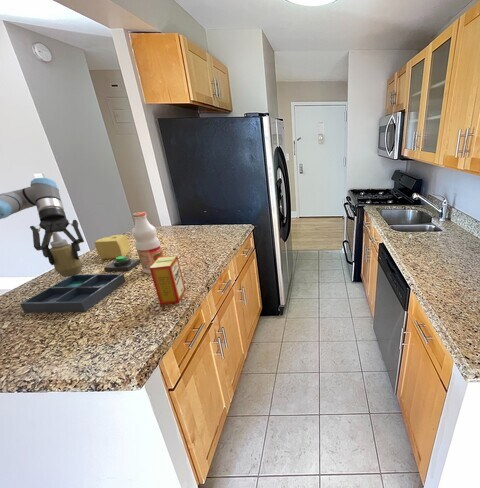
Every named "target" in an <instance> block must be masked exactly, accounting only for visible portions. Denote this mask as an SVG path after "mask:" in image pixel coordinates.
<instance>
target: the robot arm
mask: <svg viewBox="0 0 480 488" xmlns="http://www.w3.org/2000/svg"><path fill="white" fill-rule="evenodd" d="M34 207H36V210H37V214H38V218H39V223H38V225H35V226H34V225H30V226H29V229H30V230H31V231H32V243H33V248H34V249H35V250H36V251H38V252H39V251H42V256H43V257H44V258H45V259H46V258H47V259H48V262H49V264H50V266H54V261H53V259H52V256H51V253H50V250H49V249H50V247H49V246H50V242H51V239H52V237H53V234H52V233H53V232H57V233H64V234H65V235H66V236H67V238H68V239H69V240H70V241H71V242H70V245H72V248H73V252H74V255H75V258H76V259H77V260H79V259H80V257H79V253H78V252H80V251H81V247H80V244H83V243H84V242H85V240H84V238H83V236H82V233H81V231H80V229H79V221H77V219H73V220H69V219H68V218H67V216H66V212H65V208H64V204H63V202H62V199H61V195H60V190H59V188H58V185H57V183H56V181H54V180H53V179H51V178H48V177H36V178H33V179H32V180H31V181H30V186H27V187H23V188H20V189H15V190H12V191H8V192H2V193H0V220H3V219H6V218H8V217H10V216H12V215H14V214H17V213H19V212H22V211H23V210H26V209H30V208H34ZM69 225H70V226H71V227H73V230H74V232H75V234H76V236H77V238H76V237H75V236H73V234H72V233H71V232H70V231H69V230H68V229H67V227H68V226H69ZM41 229H43V230H44V235H43V238H42V242H41V237H40V232H41Z"/></svg>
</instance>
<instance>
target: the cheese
mask: <svg viewBox="0 0 480 488" xmlns="http://www.w3.org/2000/svg"><path fill="white" fill-rule="evenodd" d="M94 246H95V249H96V252H97V254H98V256H99V257H100V259H101V260H108V259H109V260H110V259H116V258H117V257H119V256H126V255H127V254H128V253H130V252H131V251H132V250H131V246H130V242H129V239H128V236H127V235H126V234H113V235H109V236H107V237H106V236H105V237H102V238H99V239H97V240H96V241H94Z"/></svg>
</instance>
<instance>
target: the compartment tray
mask: <svg viewBox="0 0 480 488" xmlns="http://www.w3.org/2000/svg"><path fill="white" fill-rule="evenodd" d="M126 282H127V280H126V278H125V274H124V273H79V274H76V275H74V276H69V277H64V278H63V279H62V280H60V281H58V282H56V283H54V284H53V285H51V286H49V287H47V288H46V289H44V290H42V291H40V292H38V293H36V294H35V295H33V296H31V297H29V298H27V299H26V300H24V301H22V302H20V303H19V305H20V307H21V310H22V311H23V313H24V314H35V313H36V314H37V313H38V314H40V313H43V314H44V313H85V312H87V311H88V310H90V309H91V308H93V307H94V306H96V304H98V303H99V302H101V301H102V300H103V299H105V298H106V297H108V295H109V296H110V294H111V293H113V292H114V291H116V290H117V289H118V288H120V287H121V286H122V285H123V284H125V283H126Z"/></svg>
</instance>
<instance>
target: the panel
mask: <svg viewBox="0 0 480 488" xmlns="http://www.w3.org/2000/svg"><path fill="white" fill-rule="evenodd" d="M125 258H126V260H124V261H121V262H117V260H116V258H114V260H113V261H112V262H111V263H109V264H107V265H105V266H104V267H103V270H104V272H105V273H107V272H108V273H109V272H110V273H112V272H117V273H119V272H130V271H132V270H133V269H134V268H136V267H137V266H139V265H141V262H140V259H139V258H130V257H128V256H125Z"/></svg>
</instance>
